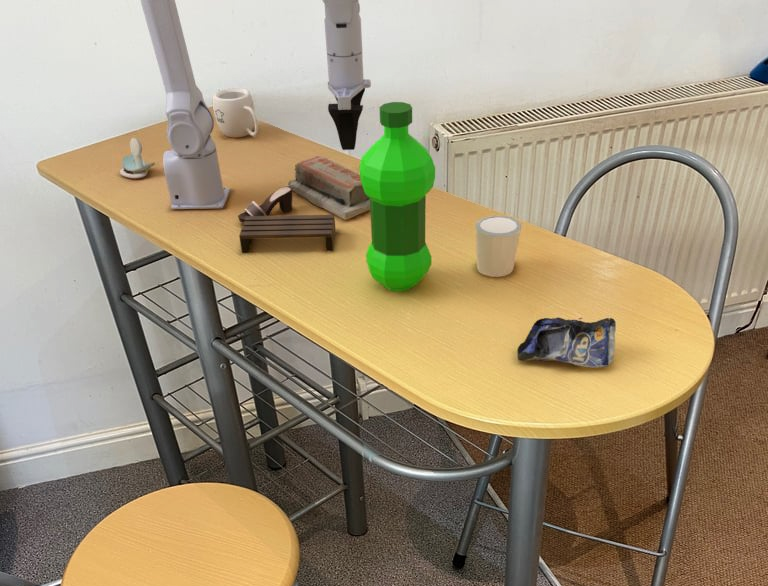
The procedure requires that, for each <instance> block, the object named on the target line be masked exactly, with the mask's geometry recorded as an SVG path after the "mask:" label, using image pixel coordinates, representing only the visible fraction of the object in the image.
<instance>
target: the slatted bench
mask: <svg viewBox="0 0 768 586" xmlns="http://www.w3.org/2000/svg"><path fill="white" fill-rule="evenodd" d="M336 232H337V231H336V220H335V214H295V215H291V214H290V215H269V216H246V217H245V221H244V223H242V226H241V229H240V232H239V235H238V236H239V242H240V248H241V253H242V254H243V253H245V254H247V253H249V251H250V247H251V244H252V241H253V239H254V240H255V239H297V238H298V239H301V238H303V239H305V238H325V246H326V252H333V251H334V246H335V239H336Z"/></svg>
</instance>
